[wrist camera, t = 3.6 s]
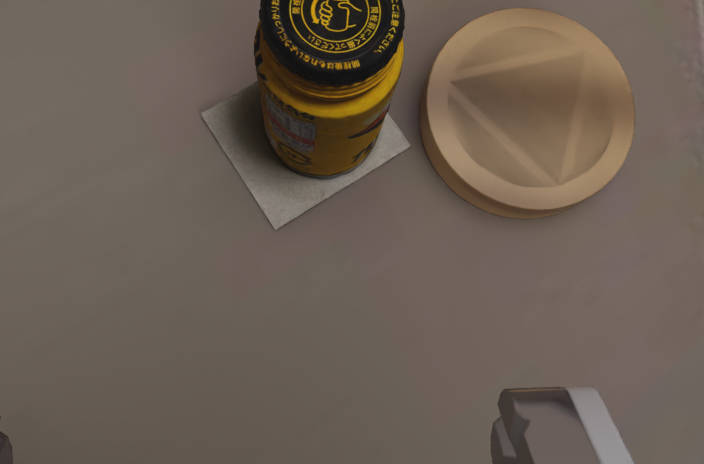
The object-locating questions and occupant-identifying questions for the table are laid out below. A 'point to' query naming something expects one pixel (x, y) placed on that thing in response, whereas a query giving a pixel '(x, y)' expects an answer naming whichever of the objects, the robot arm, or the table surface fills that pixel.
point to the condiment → (314, 101)
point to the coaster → (526, 113)
